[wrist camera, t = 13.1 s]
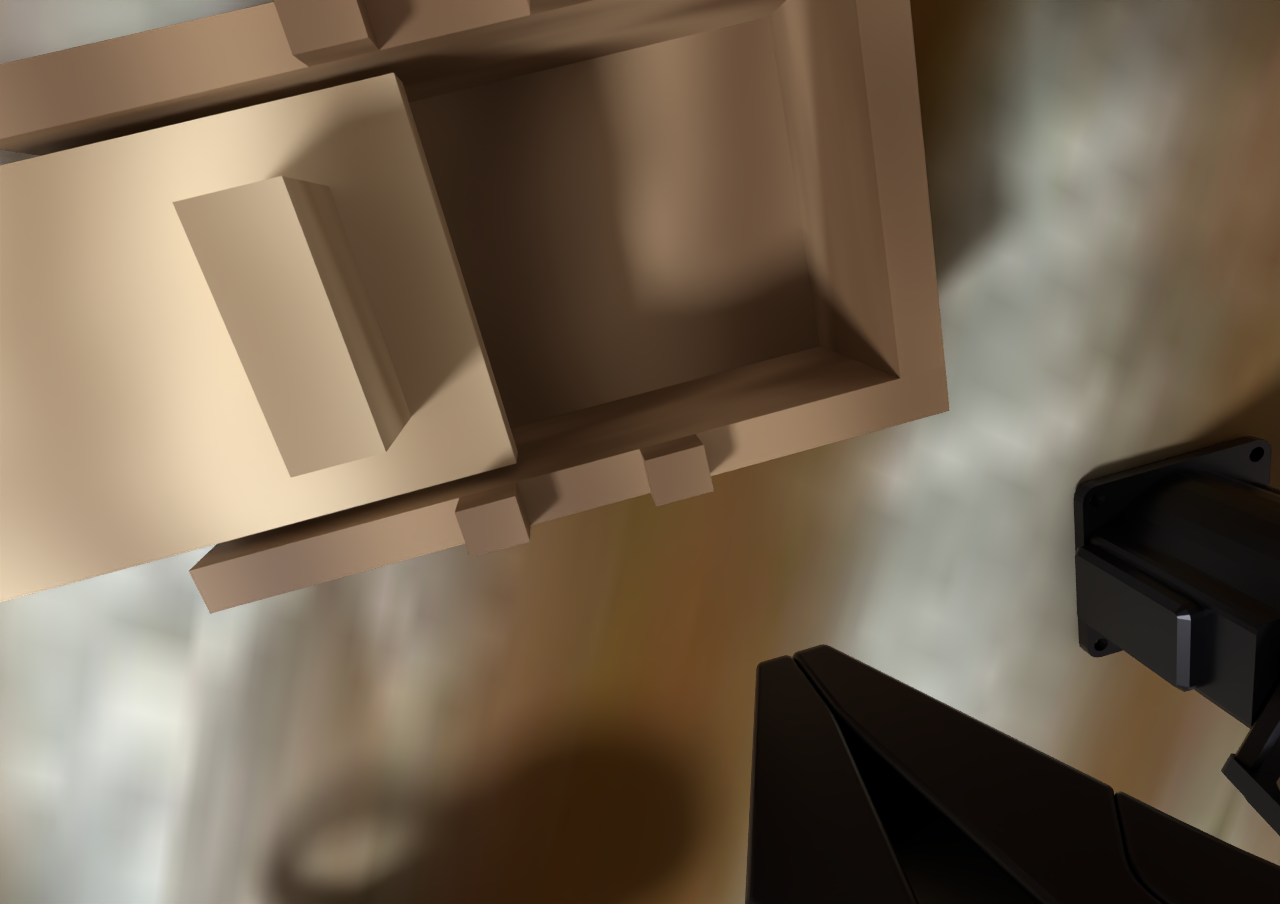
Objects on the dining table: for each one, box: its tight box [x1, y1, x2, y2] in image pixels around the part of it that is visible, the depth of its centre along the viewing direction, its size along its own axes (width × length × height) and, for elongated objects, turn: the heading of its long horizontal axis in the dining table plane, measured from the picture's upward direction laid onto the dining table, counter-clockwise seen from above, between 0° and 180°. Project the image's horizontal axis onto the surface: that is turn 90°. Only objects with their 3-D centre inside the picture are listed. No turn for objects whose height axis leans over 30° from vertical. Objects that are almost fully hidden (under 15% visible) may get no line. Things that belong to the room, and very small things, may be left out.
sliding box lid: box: [0, 73, 518, 602], centre depth 12 cm, size 14×7×3 cm, turn 103°
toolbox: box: [0, 0, 949, 613], centre depth 15 cm, size 16×10×6 cm, turn 103°
